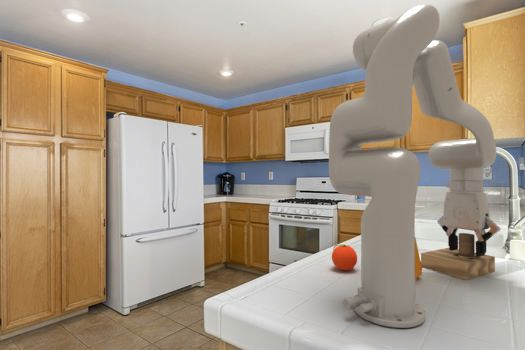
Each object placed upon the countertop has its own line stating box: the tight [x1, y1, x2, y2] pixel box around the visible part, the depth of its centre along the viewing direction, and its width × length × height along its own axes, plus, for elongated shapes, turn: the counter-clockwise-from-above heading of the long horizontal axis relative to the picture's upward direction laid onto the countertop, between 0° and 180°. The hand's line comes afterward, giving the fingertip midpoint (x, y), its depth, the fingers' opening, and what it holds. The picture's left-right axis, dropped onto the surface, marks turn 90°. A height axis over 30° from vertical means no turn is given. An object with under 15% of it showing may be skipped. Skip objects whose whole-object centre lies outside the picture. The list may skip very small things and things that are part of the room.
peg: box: [458, 232, 476, 259], centre depth 82 cm, size 4×4×10 cm
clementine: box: [331, 244, 358, 271], centre depth 83 cm, size 8×7×7 cm
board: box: [420, 247, 496, 280], centre depth 83 cm, size 14×12×4 cm
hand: (466, 252), depth 82 cm, fingers open, 6 cm apart
